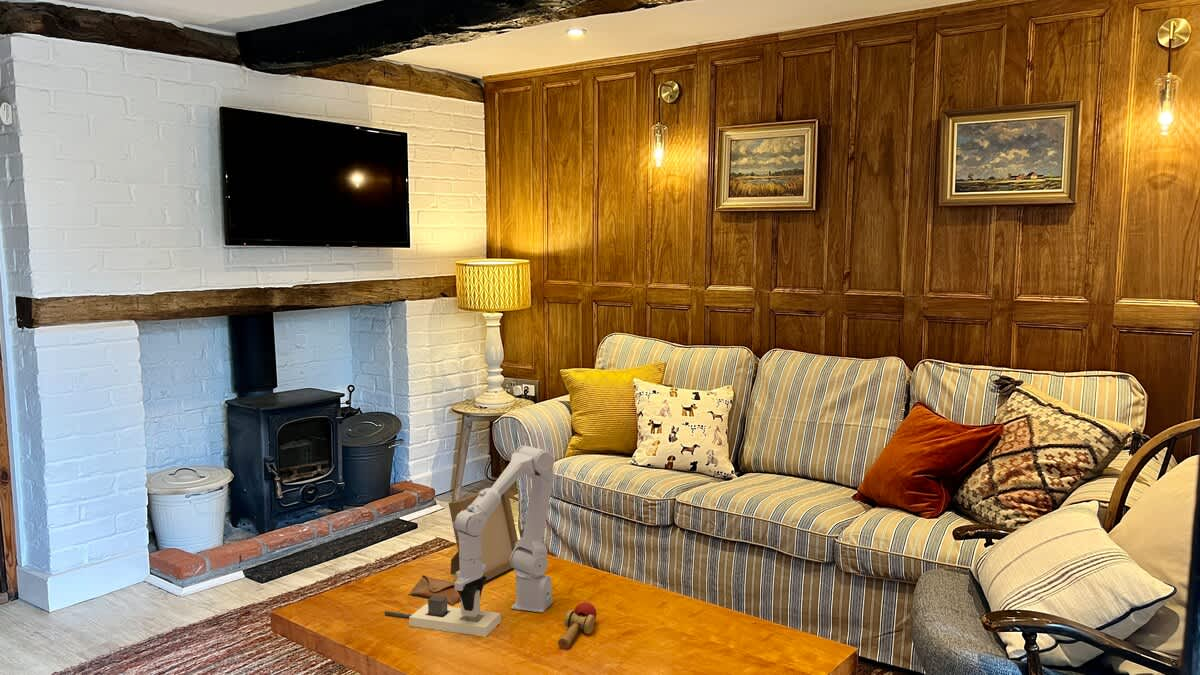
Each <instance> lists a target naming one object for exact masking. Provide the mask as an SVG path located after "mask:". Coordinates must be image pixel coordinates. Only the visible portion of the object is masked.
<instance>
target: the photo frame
mask: <svg viewBox="0 0 1200 675" xmlns="http://www.w3.org/2000/svg"><path fill="white" fill-rule="evenodd" d="M508 489H509V488H508ZM508 489H507V490H506V491H505V492H504V493H503V494H502V495H501V503H500V504H499V506H498V507H497V508H496V509H495V510H494V511H493V513H492V514H491V515H490V516H489V517H488V521H487V522H486V526H485V529H484V531H483V532H482V533H481V554H482V564H486V565H487V571H486V572H484V573H483V576H486V577H487V580H486V581H488V580H490V579H493V578H494V577H497V576H499V575H500V574H503V573H504V572H507V571H509V570H511V569H514V568H513V567H512V566H511V564H510V556H511V554H512V552H513V550H514V548H515V544H516V542H517V541H518V540H519V538H518V534H517V529H516V524H515V519H514V514H513V509H512V505H511V500H510V495H509V490H508ZM479 493H480V491H478V492H475V493H473V494H469V495H467V496H465V497H462V498H459V499H457V500H454V501H451V502H448V508H449V513H450V518H451V523H452V526H453V527H452V528H453V533H454V538H455V542H456V547H457V552H456V553H455V554H454V555H453V556H452V558H451V559H450V574H456V572H457V571H459V570H460V563H459V536H458V532H457V530H456V529H455V527H454V524H453V522H455V519H456V516H457V515H458V514H459V513H460V512H461V511H464V510H467V508H468V506H469V505H471V504H472V502H473V501H474V500H475V499H476V498H477V497H478V496H479Z"/></svg>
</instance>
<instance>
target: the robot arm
mask: <svg viewBox="0 0 1200 675" xmlns="http://www.w3.org/2000/svg"><path fill="white" fill-rule="evenodd" d="M555 460H556V459H555V457H554V456H553V455H552V453H551V451H549V450H547V449H542V448H538V447H533V446H529V445H528V444H523V445H520V446H518V447H517V449H516V450H515V452H513V453H512V454H511V458H510V462H509V463H508V465H507V466H506V468H504V470H503V471H502V473H501V474H499V477H498V478H497V479H496V480H495V482H494V483H493V485H492V486H491V487H486V488H484V489H481V490H480V491H479V492H480V493H479V496H478V497H477V498H476V499H475V500H474V501H473V502H472V504H471V505H469V506H468V508H467V510H464V511H461V512H460V513H459V514H458V515H457V516H456V519H455V522H453V523H452V525H453V524H454V527H455V529H456V530H457V532H458V536H459V563H460V570H459V571H457V572H456V573H455V575H456V576H457V579H456V581H455V582H453V583H454V586H455V590H457V591H458V593H459V595H460V597H461V599H462V603H463V606H464V609H465V610H467V611H472V610H473V606H474V596H475V592H476V590H480V598H481V596H482V592H483V589H484V585H485V583H486V581H488V580H487V577H486V576H483V573H484V572H486V571H487V565H486V564H482V554H481V533H482V532H483V531H484V529H485V526H486V522H487V521H488V517H489V516H490V515H491V514H492V513H493V511H494V510H495V509H496V508H497V507H498V506H499V504H500V503H501V495H502V494H503V493H504V492H505V491H506V490H507V489H510V487H512V486H513V485H514V484H515V482H516V481H517V480H518V479H520V478H521V477H522V476H529V478H530V479H531V480H532V486H531V490H530V496H529V501H528V506H527V511H526V515H525V516H526V517H525V523H524V528H523V532H522V537H521V538H519V539H518V541H517V542H516V544H515V548H514V550H513V552H512V554H511V556H510V564H511V566H512V567H513V568H512V569H514V570H513V571H514V574H515V589H516V590H515V592H516V593H515V596H516V598H515V599H516V600H515V603H514V604H512V605H511V607H510V609H511V610H512V609H513V610H518V611H527V612H532V613H533V612H534V613H540V614H541V613H544V612H545V611H546V610H547V609H548V608H549V607H550V606H551V605H552V604H553V602H554V600H553V591H552V589H553V588H552V587H553V585H552V584H553V583H552V578H551V576H550V575H546V574H545V572H546V571H547V569H548V566H549V565H548V564H549V563H548V557H547V556H548V548H547V547H546V544H544V541H543V538H544V532H545V527H546V523H547V522H546V521H547V516H548V512H549V511H548V510H549V507H550V501H551V496H552V490H553V485H554V480H555V474H554V465H555Z"/></svg>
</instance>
